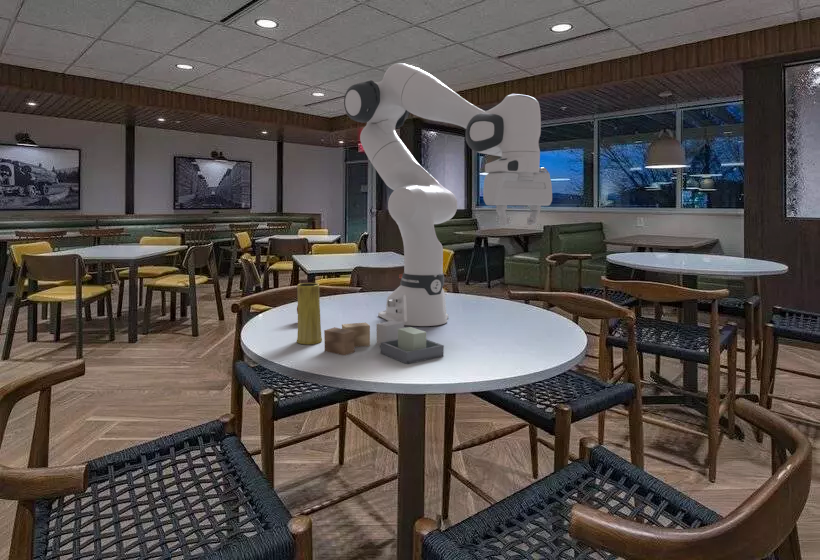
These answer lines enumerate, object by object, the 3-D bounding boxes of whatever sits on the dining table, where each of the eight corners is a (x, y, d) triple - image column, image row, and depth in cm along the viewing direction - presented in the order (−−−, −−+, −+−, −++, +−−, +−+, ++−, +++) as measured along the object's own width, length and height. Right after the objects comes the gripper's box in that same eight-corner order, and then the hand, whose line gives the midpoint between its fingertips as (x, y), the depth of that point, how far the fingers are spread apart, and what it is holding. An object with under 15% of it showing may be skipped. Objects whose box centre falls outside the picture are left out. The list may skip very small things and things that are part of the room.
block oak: (345, 348, 123) (345, 327, 122) (342, 344, 126) (341, 324, 125) (369, 345, 125) (369, 325, 124) (365, 342, 128) (365, 322, 127)
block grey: (386, 346, 124) (386, 326, 124) (376, 343, 127) (376, 323, 126) (403, 341, 129) (404, 322, 128) (394, 339, 131) (394, 320, 130)
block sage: (397, 350, 119) (398, 328, 118) (410, 347, 121) (410, 326, 120) (413, 356, 114) (413, 334, 113) (426, 353, 116) (426, 332, 115)
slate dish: (380, 352, 118) (380, 342, 118) (416, 346, 124) (416, 336, 124) (406, 364, 110) (406, 352, 110) (443, 356, 116) (443, 345, 116)
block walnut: (324, 351, 120) (324, 330, 119) (334, 348, 123) (334, 327, 122) (344, 355, 116) (344, 334, 116) (354, 352, 119) (354, 330, 119)
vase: (310, 346, 124) (308, 287, 122) (291, 342, 127) (289, 284, 125) (326, 340, 129) (326, 283, 127) (308, 337, 132) (307, 281, 130)
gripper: (539, 168, 131) (537, 224, 132) (479, 164, 119) (478, 225, 121) (559, 167, 125) (557, 224, 127) (499, 162, 114) (497, 226, 116)
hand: (518, 225), depth 124 cm, fingers open, 8 cm apart
